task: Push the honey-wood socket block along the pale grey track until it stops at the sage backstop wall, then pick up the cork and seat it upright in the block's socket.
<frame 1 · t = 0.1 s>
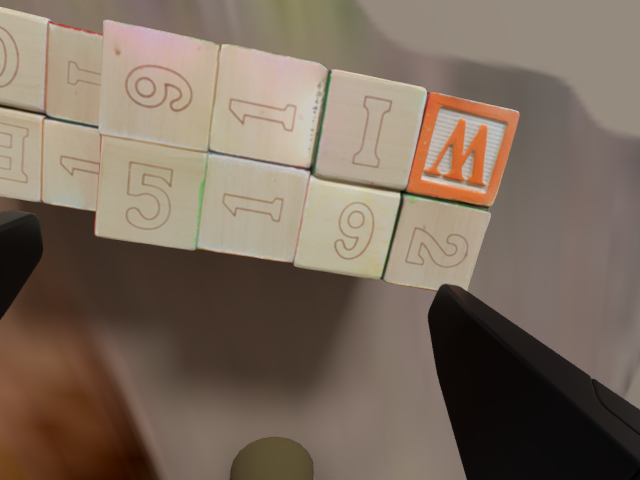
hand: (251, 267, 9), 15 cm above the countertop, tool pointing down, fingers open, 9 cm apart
stack of blocks: (219, 139, 23), on the countertop
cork: (272, 469, 29), on the countertop
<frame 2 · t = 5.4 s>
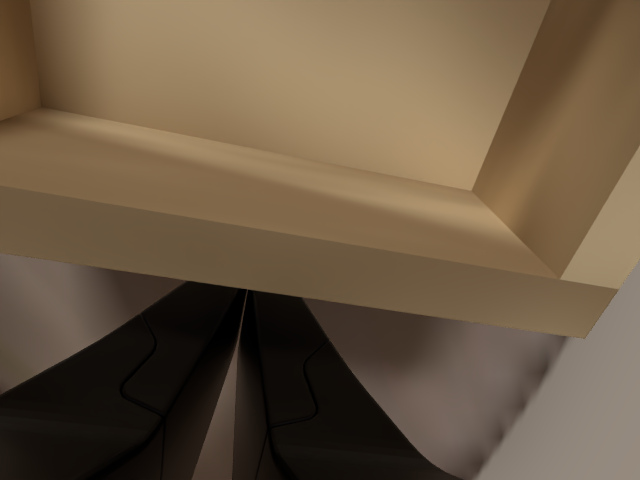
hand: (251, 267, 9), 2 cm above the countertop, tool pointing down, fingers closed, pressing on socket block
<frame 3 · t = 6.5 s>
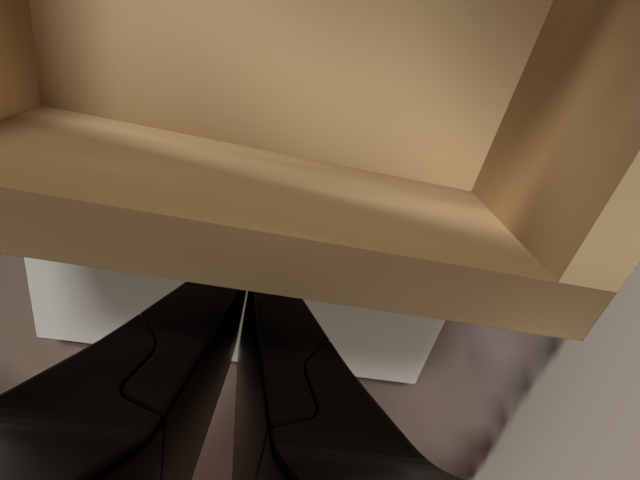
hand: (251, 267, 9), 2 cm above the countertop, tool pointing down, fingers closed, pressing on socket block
track and backstop: (267, 186, 11), on the countertop
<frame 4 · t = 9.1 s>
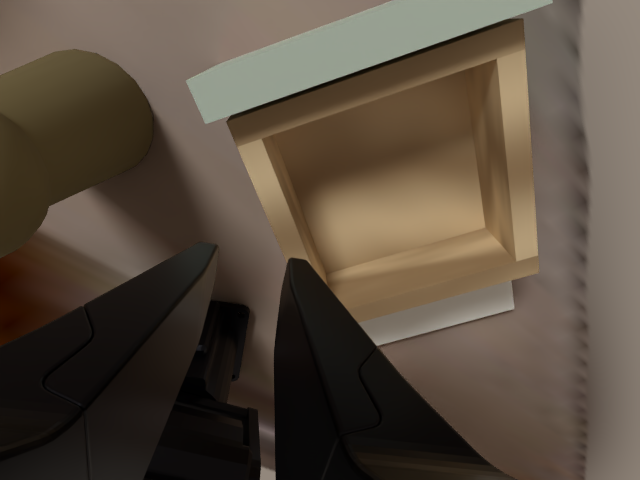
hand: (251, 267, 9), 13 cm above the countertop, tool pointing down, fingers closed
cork: (92, 115, 20), on the countertop
socket block: (390, 186, 19), point 3 cm above the countertop, slide at 6.0 cm
track and backstop: (402, 256, 24), on the countertop
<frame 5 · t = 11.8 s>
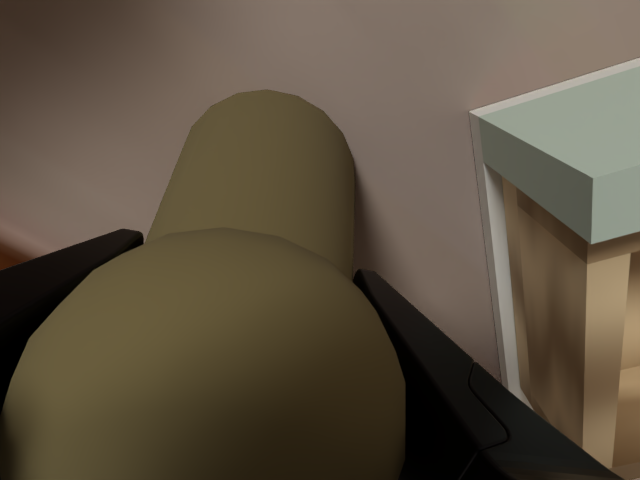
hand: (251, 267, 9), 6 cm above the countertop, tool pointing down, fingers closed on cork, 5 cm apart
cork: (269, 179, 14), on the countertop, touching gripper
track and backstop: (630, 351, 19), on the countertop
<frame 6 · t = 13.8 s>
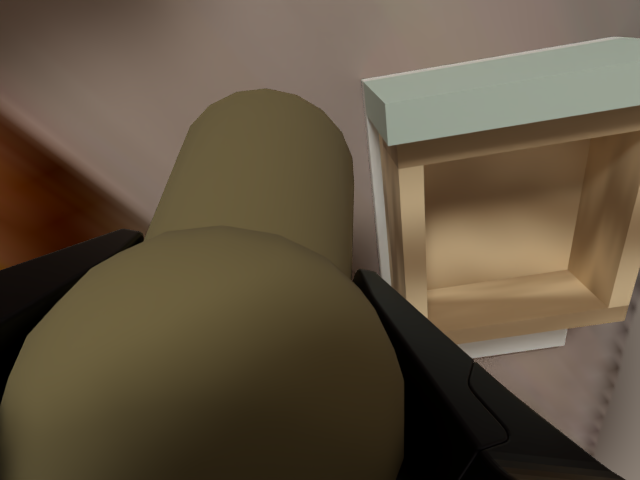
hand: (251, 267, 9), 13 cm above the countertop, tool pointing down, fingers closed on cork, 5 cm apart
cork: (268, 178, 14), point 7 cm above the countertop, touching gripper
socket block: (504, 222, 20), point 3 cm above the countertop, slide at 6.0 cm
track and backstop: (475, 283, 26), on the countertop
when the fingers open (9 cm above the countertop, at t = 15.7 s): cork drops 1 cm, resting on socket block.
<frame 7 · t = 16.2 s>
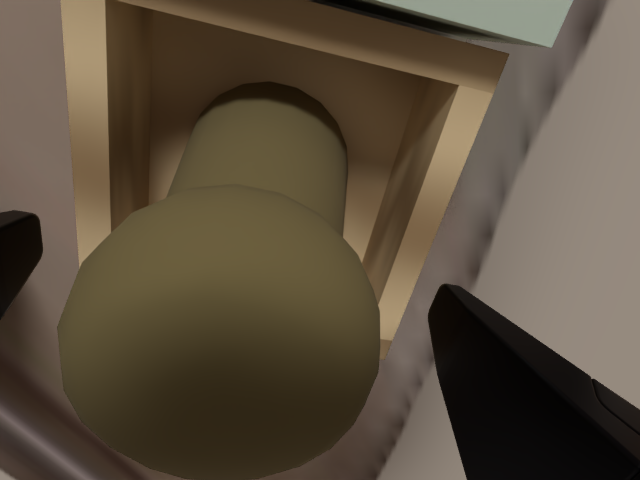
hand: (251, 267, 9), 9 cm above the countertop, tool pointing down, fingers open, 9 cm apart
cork: (269, 164, 15), point 2 cm above the countertop, touching socket block
socket block: (270, 179, 14), point 3 cm above the countertop, slide at 6.0 cm, touching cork
track and backstop: (254, 270, 20), on the countertop
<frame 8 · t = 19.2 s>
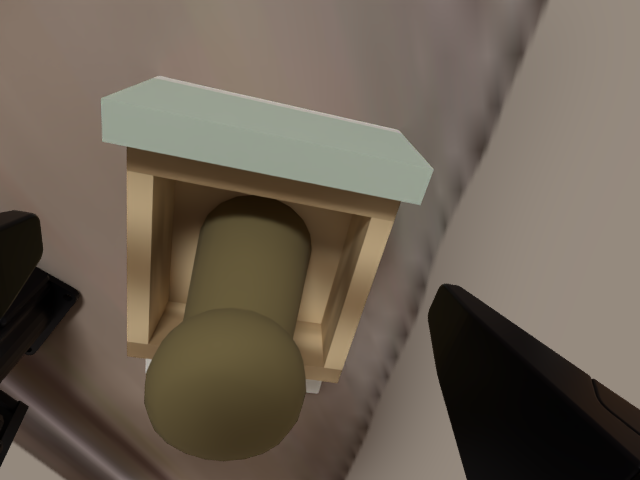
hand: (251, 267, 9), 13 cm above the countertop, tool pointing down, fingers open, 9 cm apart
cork: (256, 245, 22), point 2 cm above the countertop, touching socket block
socket block: (255, 260, 20), point 3 cm above the countertop, slide at 6.0 cm, touching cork
track and backstop: (247, 311, 26), on the countertop
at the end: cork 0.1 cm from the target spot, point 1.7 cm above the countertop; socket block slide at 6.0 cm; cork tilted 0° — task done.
